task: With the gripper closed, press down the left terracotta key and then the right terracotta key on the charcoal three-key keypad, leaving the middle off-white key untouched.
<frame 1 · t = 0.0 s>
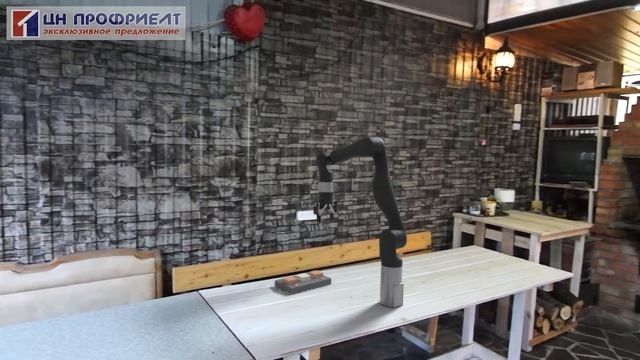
hand: (325, 221, 212), 29 cm above the table, tool pointing down, fingers open, 8 cm apart
keypad: (303, 285, 201), on the table
key right: (316, 275, 206), point 3 cm above the table, slide at 0.0 cm
key middle: (303, 278, 201), point 4 cm above the table, slide at 0.0 cm
key left: (289, 281, 196), point 4 cm above the table, slide at 0.0 cm
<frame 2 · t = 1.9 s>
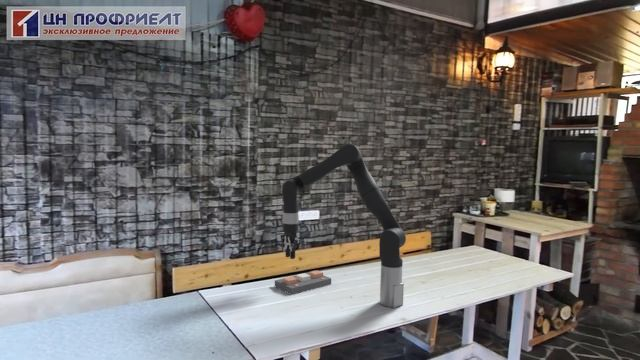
hand: (290, 257, 195), 15 cm above the table, tool pointing down, fingers open, 3 cm apart
nothing on the table moved.
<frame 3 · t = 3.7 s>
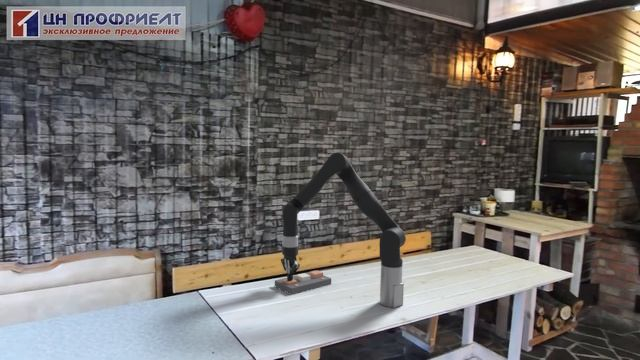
hand: (289, 280, 196), 4 cm above the table, tool pointing down, fingers closed
key left: (289, 283, 196), point 3 cm above the table, slide at 1.0 cm, touching gripper
everything else where it was.
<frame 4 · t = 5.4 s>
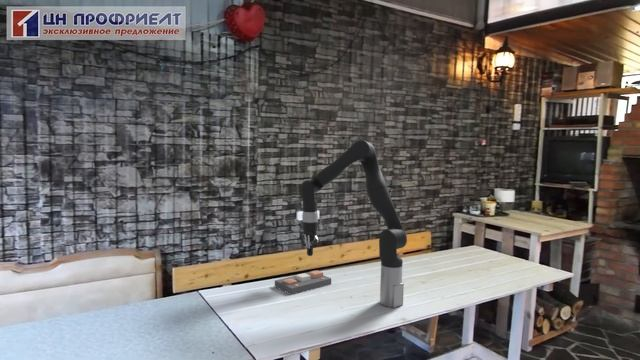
hand: (309, 255, 202), 15 cm above the table, tool pointing down, fingers closed
key left: (289, 283, 196), point 2 cm above the table, slide at 1.0 cm
everything else where it was.
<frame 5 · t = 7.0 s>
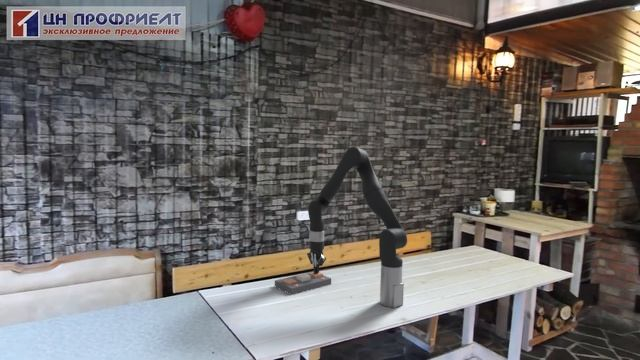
hand: (316, 273, 206), 4 cm above the table, tool pointing down, fingers closed
key right: (316, 276, 206), point 3 cm above the table, slide at 0.6 cm, touching gripper
everything else where it was.
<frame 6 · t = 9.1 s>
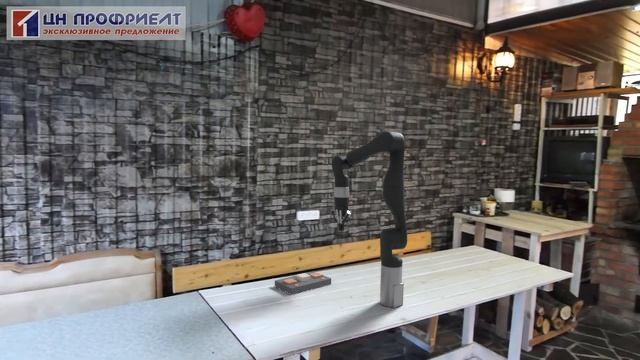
hand: (341, 230, 204), 26 cm above the table, tool pointing down, fingers closed
key right: (316, 277, 206), point 2 cm above the table, slide at 1.0 cm
everything else where it was.
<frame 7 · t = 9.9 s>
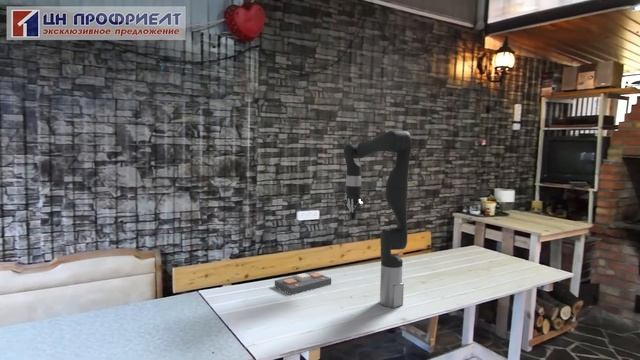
hand: (352, 219, 204), 32 cm above the table, tool pointing down, fingers closed
nothing on the table moved.
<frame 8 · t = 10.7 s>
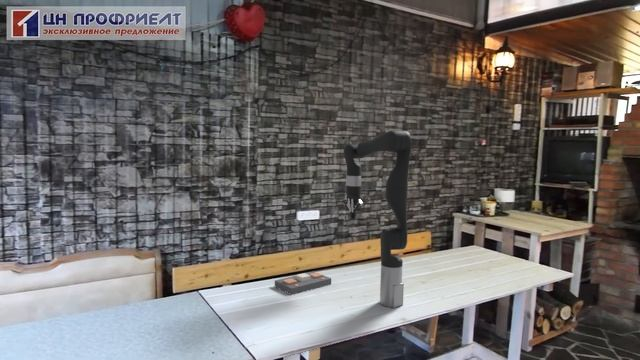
hand: (352, 219, 204), 32 cm above the table, tool pointing down, fingers closed
nothing on the table moved.
at the end: key left slide at 1.0 cm; key right slide at 1.0 cm; key middle slide at 0.0 cm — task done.
